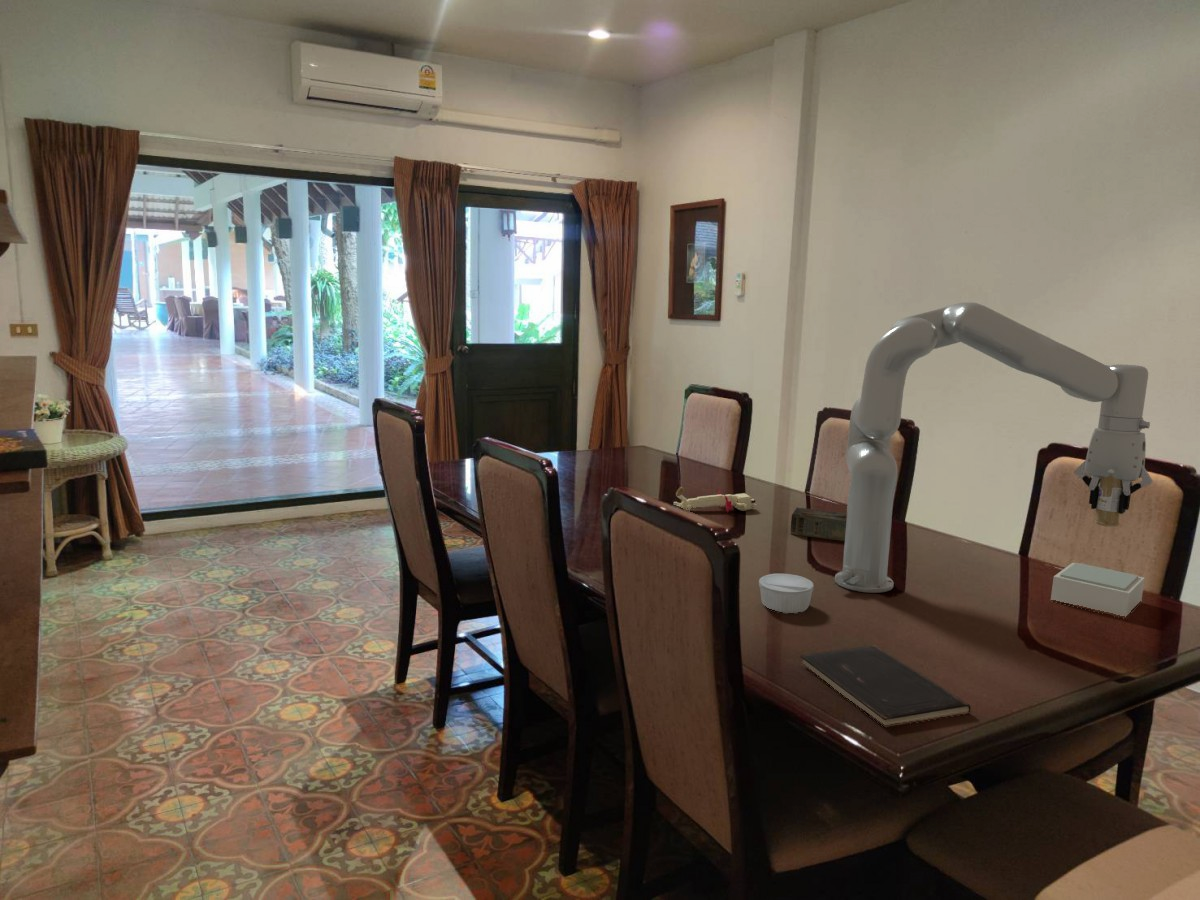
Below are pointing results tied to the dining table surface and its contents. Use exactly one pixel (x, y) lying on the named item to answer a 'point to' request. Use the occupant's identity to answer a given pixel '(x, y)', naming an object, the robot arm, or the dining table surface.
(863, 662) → the hardcover book
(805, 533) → the beverage carton
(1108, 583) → the white rimmed tray
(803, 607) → the ramekin
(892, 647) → the dining table surface
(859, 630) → the dining table surface
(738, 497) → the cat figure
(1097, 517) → the sprinkles bottle
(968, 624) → the dining table surface
